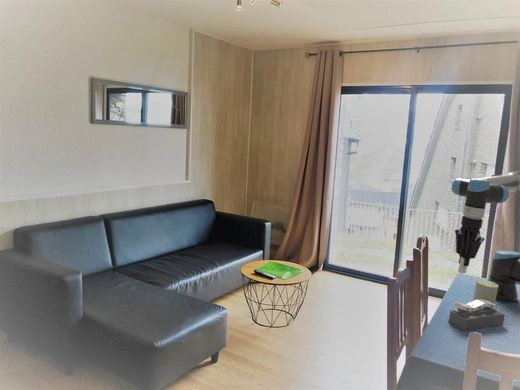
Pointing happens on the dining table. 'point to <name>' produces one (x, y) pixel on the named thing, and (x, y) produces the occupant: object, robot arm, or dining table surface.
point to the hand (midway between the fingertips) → (462, 272)
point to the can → (485, 291)
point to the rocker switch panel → (476, 318)
